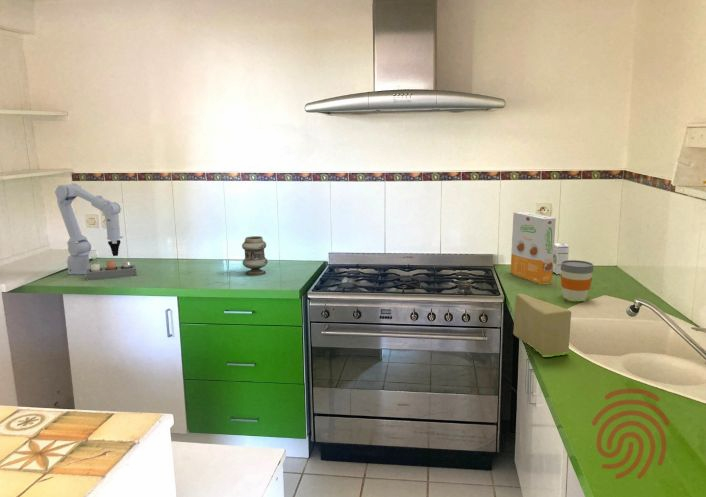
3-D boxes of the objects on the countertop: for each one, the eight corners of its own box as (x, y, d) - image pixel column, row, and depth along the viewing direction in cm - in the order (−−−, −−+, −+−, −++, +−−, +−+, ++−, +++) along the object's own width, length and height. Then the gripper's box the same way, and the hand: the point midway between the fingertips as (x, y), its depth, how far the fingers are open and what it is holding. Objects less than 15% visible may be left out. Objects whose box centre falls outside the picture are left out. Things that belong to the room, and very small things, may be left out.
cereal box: (551, 283, 262) (555, 218, 256) (540, 284, 260) (544, 219, 254) (521, 272, 283) (524, 211, 277) (510, 273, 281) (513, 212, 275)
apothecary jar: (240, 272, 287) (238, 236, 284) (263, 269, 292) (262, 234, 289) (246, 277, 277) (245, 240, 273) (271, 274, 282) (269, 238, 278)
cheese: (502, 335, 196) (504, 293, 193) (526, 332, 200) (529, 290, 196) (543, 359, 176) (546, 312, 173) (569, 355, 179) (573, 309, 176)
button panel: (136, 275, 282) (135, 268, 281) (87, 280, 273) (86, 273, 273) (135, 271, 290) (135, 264, 289) (87, 275, 281) (86, 269, 281)
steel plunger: (121, 270, 282) (120, 262, 281) (125, 268, 286) (124, 260, 285) (129, 270, 282) (128, 262, 281) (132, 268, 286) (132, 261, 285)
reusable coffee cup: (571, 304, 231) (573, 267, 228) (552, 296, 243) (554, 261, 240) (597, 301, 234) (600, 265, 231) (578, 293, 246) (580, 259, 243)
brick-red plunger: (105, 270, 279) (104, 262, 278) (109, 268, 283) (108, 260, 282) (113, 270, 279) (112, 262, 278) (117, 268, 283) (116, 260, 282)
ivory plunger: (89, 273, 277) (88, 265, 276) (94, 271, 280) (93, 263, 280) (97, 273, 276) (96, 265, 275) (102, 271, 280) (101, 263, 279)
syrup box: (567, 275, 277) (569, 245, 274) (555, 275, 277) (557, 245, 274) (563, 272, 283) (565, 243, 280) (551, 272, 283) (553, 243, 280)
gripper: (122, 229, 273) (124, 257, 276) (121, 225, 286) (123, 252, 289) (106, 230, 270) (108, 259, 273) (105, 226, 283) (108, 253, 286)
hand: (115, 255), depth 281 cm, fingers closed
